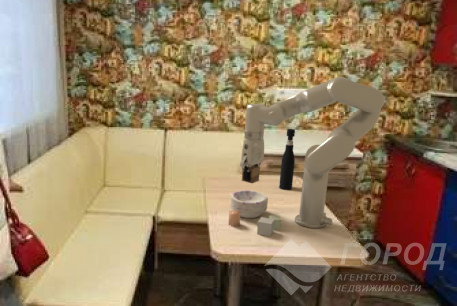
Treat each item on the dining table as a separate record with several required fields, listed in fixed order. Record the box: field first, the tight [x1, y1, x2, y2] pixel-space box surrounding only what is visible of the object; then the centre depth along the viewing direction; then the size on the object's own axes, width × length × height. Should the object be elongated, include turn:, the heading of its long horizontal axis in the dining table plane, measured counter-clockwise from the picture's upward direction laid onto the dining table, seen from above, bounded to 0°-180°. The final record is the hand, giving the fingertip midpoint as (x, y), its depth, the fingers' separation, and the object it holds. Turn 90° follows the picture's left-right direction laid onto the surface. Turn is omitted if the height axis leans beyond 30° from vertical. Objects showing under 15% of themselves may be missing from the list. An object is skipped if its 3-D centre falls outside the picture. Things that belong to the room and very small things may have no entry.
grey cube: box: [256, 216, 275, 237], centre depth 156 cm, size 5×5×5 cm
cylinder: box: [228, 209, 241, 228], centre depth 162 cm, size 4×4×5 cm
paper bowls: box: [229, 189, 269, 219], centre depth 173 cm, size 15×15×8 cm
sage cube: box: [268, 215, 281, 230], centre depth 162 cm, size 4×4×4 cm
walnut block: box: [241, 165, 261, 184], centre depth 170 cm, size 5×5×6 cm
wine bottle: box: [278, 128, 296, 191], centre depth 209 cm, size 6×6×30 cm
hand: (250, 178), depth 171 cm, fingers closed on walnut block, 5 cm apart
